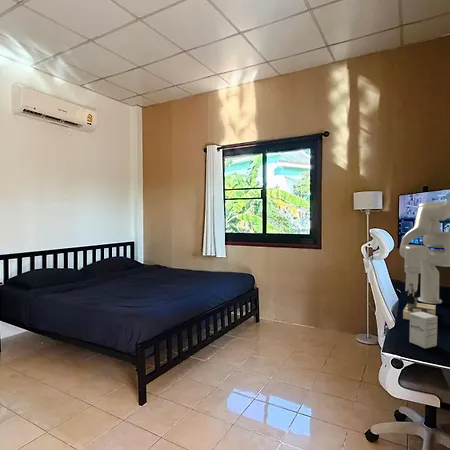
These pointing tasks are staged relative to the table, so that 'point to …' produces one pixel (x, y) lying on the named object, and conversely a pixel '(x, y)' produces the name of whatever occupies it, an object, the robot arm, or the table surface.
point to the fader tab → (414, 303)
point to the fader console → (419, 310)
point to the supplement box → (423, 329)
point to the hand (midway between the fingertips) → (412, 301)
